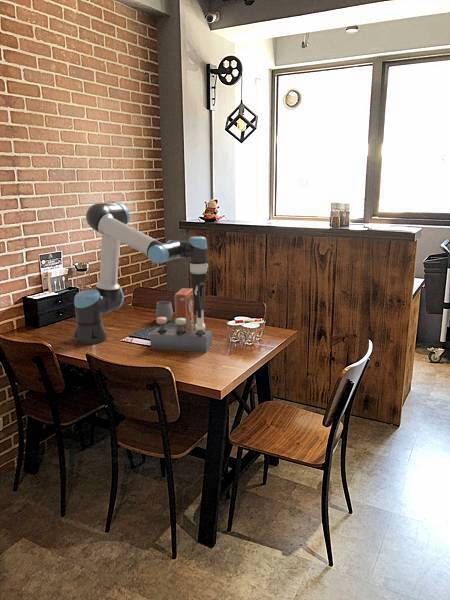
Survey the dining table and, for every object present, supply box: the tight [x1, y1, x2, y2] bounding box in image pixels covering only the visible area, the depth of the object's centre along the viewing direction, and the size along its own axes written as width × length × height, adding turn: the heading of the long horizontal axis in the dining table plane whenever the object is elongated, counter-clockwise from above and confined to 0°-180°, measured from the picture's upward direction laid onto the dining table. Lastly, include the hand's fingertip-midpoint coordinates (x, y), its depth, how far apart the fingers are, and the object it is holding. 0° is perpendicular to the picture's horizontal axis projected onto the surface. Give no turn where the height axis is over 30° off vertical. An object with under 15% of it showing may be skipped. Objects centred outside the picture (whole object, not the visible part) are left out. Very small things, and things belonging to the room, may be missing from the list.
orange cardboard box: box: [174, 287, 195, 330], centre depth 246 cm, size 21×7×15 cm
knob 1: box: [155, 317, 168, 333], centre depth 228 cm, size 5×5×8 cm
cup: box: [155, 300, 174, 322], centre depth 269 cm, size 10×9×10 cm
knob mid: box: [175, 318, 186, 334], centre depth 227 cm, size 5×5×8 cm
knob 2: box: [194, 323, 206, 335], centre depth 225 cm, size 5×5×8 cm
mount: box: [149, 327, 213, 353], centre depth 228 cm, size 26×10×7 cm, turn 78°
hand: (200, 324), depth 224 cm, fingers closed
